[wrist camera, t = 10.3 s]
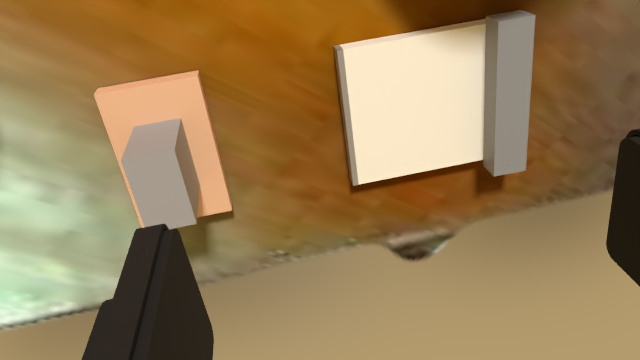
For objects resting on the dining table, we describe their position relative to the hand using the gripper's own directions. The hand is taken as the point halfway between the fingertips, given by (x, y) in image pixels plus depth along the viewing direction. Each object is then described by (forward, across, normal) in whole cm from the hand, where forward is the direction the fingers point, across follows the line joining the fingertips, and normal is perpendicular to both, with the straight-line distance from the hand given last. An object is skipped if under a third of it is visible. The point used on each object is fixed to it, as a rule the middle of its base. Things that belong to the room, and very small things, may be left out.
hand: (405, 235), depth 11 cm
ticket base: (+26, -8, +8) cm, 28 cm away
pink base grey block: (+25, +10, +8) cm, 28 cm away
